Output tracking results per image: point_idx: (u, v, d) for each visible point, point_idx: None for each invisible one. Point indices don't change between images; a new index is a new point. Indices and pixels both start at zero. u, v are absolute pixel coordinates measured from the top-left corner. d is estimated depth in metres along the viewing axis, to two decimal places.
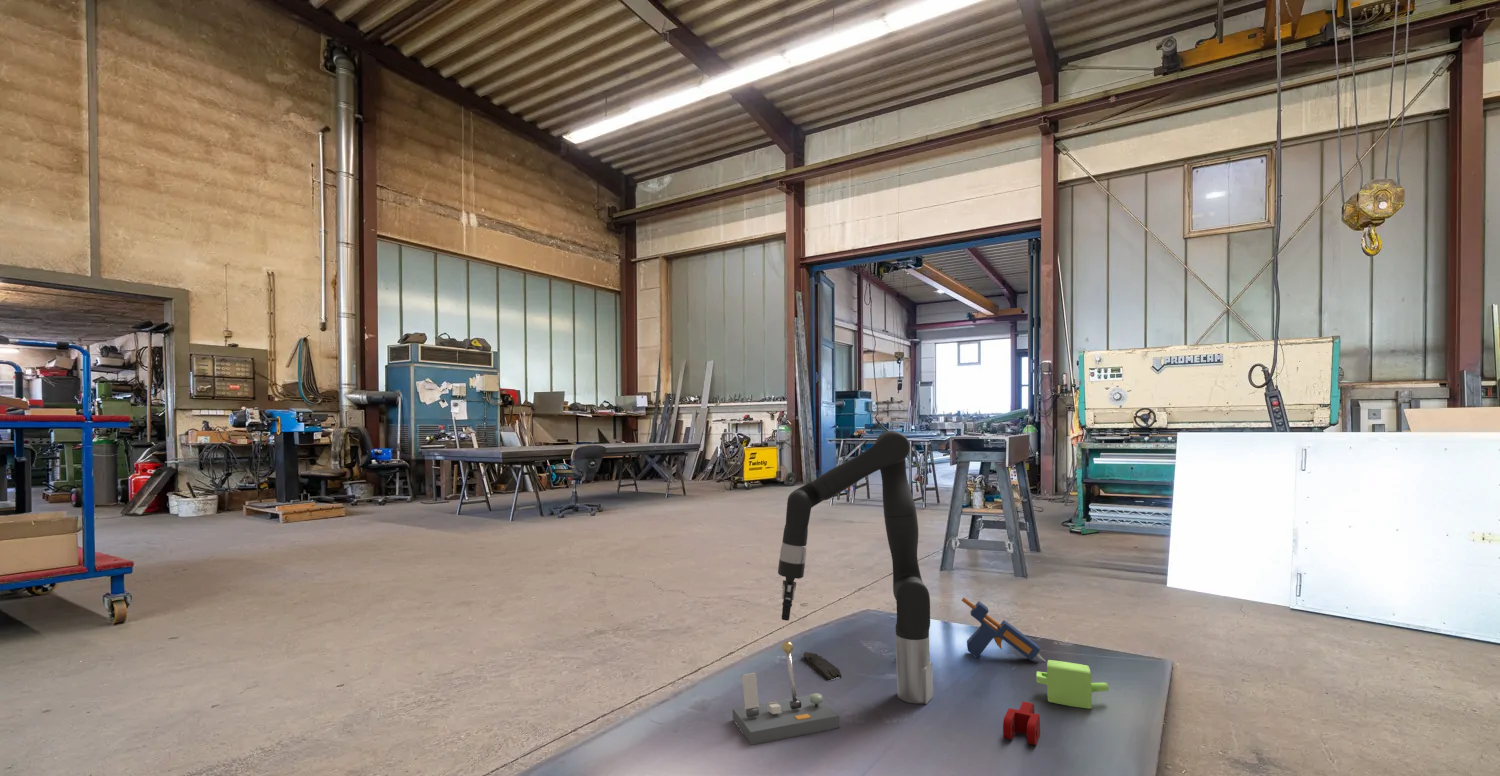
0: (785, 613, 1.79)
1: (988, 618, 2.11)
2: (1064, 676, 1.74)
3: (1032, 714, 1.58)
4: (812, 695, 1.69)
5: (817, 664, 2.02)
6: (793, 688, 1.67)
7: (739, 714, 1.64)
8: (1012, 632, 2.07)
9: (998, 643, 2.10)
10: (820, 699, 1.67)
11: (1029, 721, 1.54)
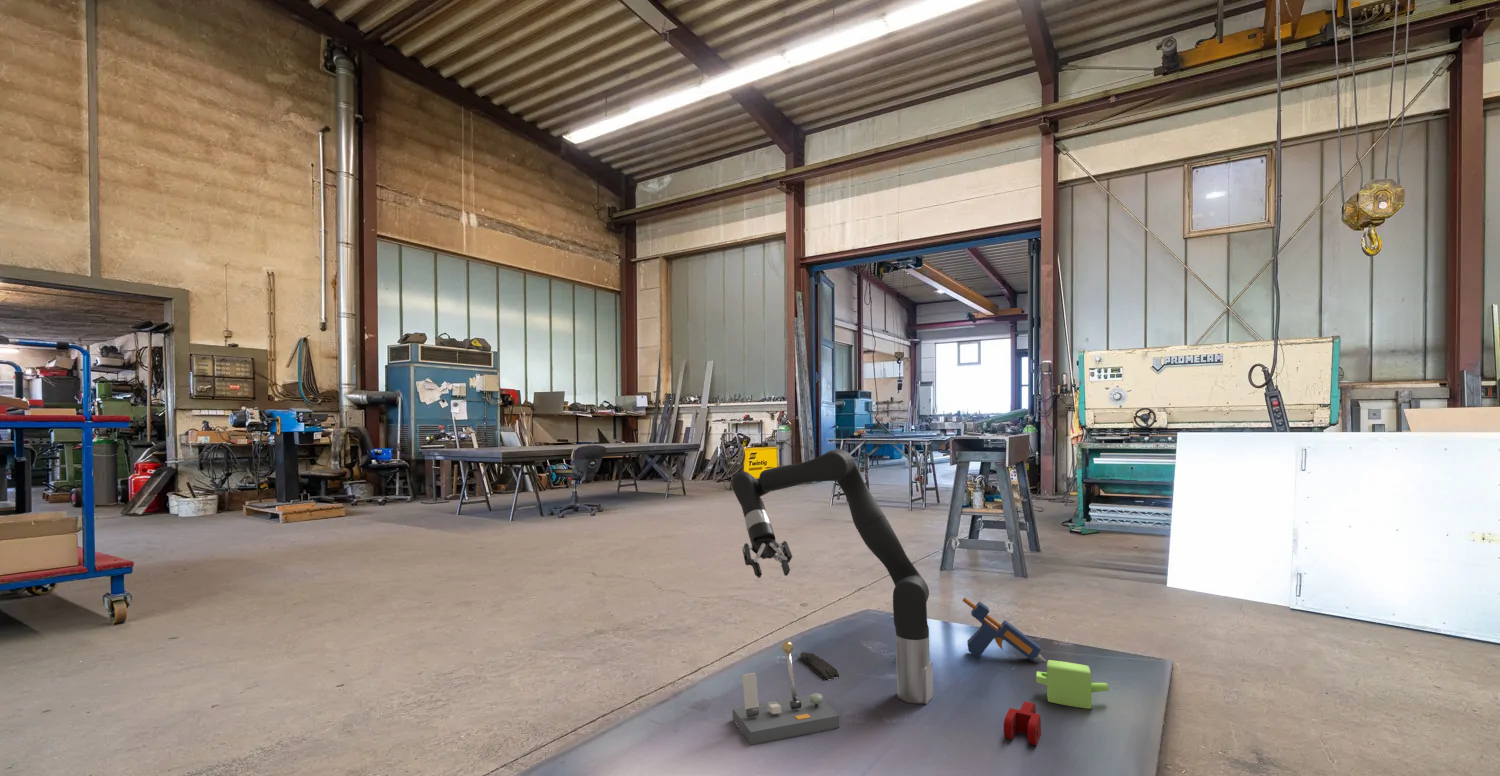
0: (754, 570, 1.83)
1: (989, 618, 2.11)
2: (1064, 676, 1.74)
3: (1033, 714, 1.58)
4: (812, 695, 1.69)
5: (814, 664, 2.02)
6: (793, 688, 1.67)
7: (739, 714, 1.64)
8: (1013, 633, 2.07)
9: (999, 643, 2.09)
10: (820, 699, 1.67)
11: (1030, 721, 1.54)
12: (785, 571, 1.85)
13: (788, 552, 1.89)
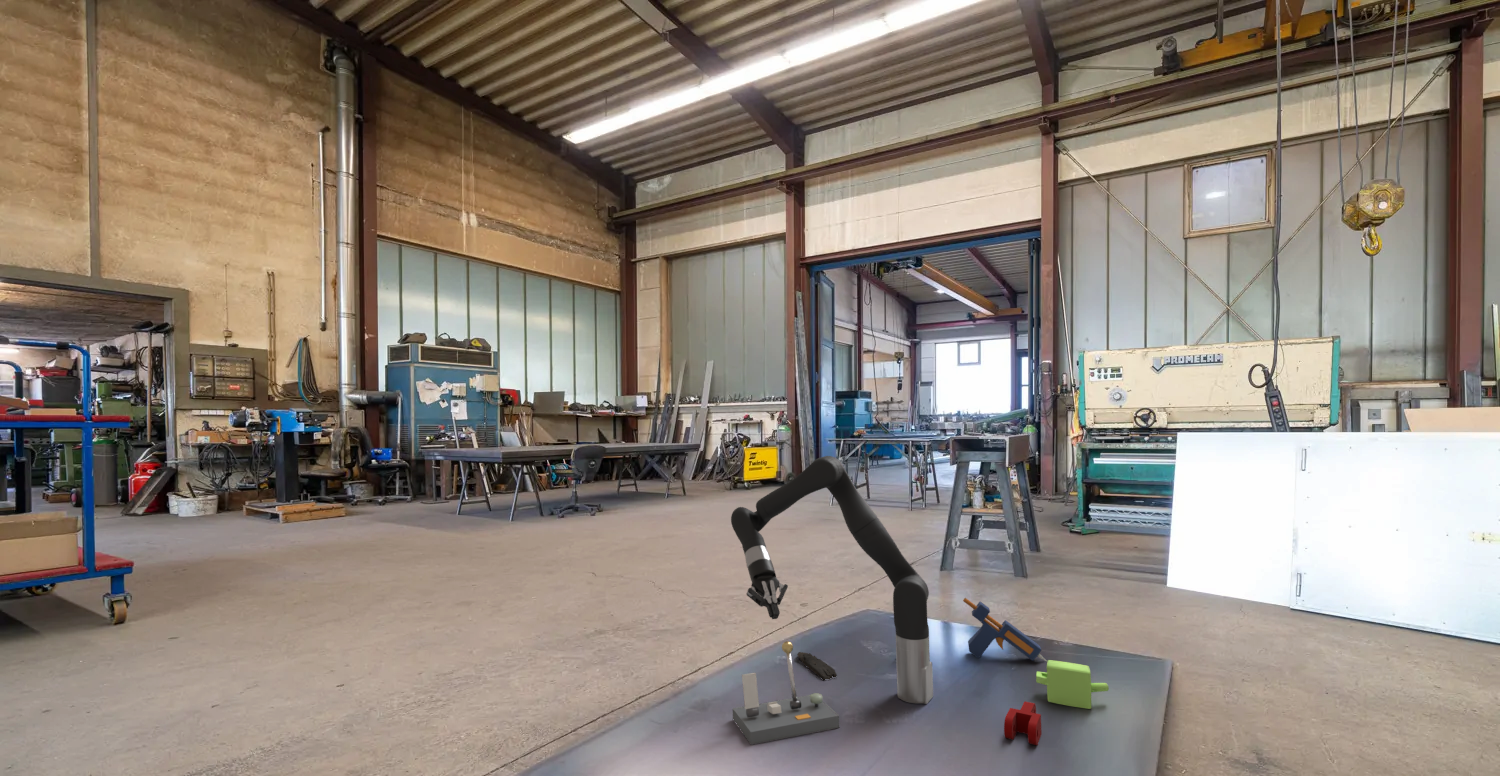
0: (768, 611, 1.81)
1: (989, 618, 2.10)
2: (1064, 676, 1.74)
3: (1033, 714, 1.58)
4: (812, 695, 1.69)
5: (812, 664, 2.02)
6: (793, 688, 1.67)
7: (739, 714, 1.64)
8: (1013, 633, 2.07)
9: (999, 643, 2.09)
10: (820, 699, 1.67)
11: (1030, 721, 1.54)
12: None
13: (781, 594, 1.84)
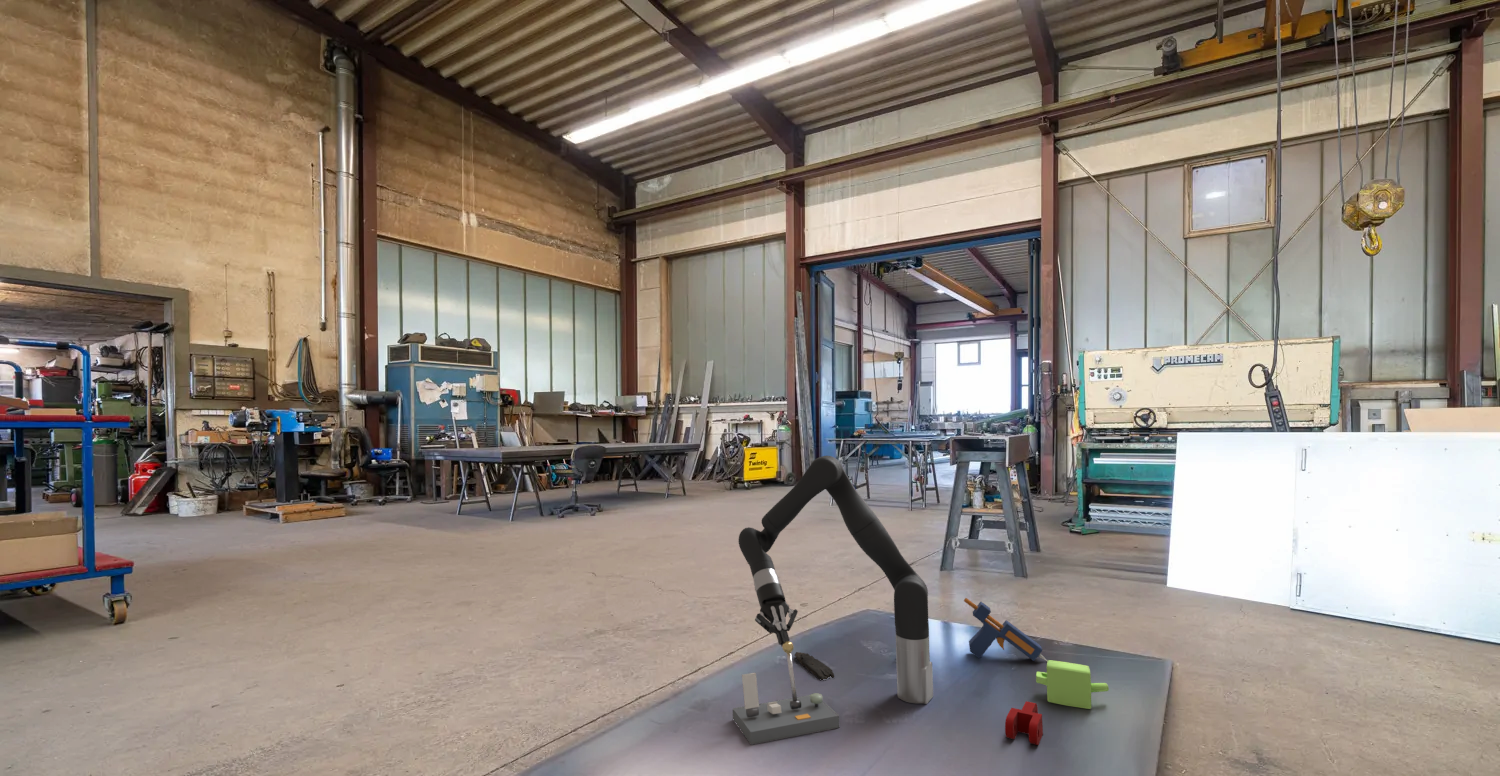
0: (778, 638, 1.74)
1: (990, 618, 2.10)
2: (1064, 676, 1.74)
3: (1034, 714, 1.58)
4: (812, 695, 1.69)
5: (809, 664, 2.02)
6: (794, 688, 1.67)
7: (739, 714, 1.64)
8: (1014, 633, 2.07)
9: (1000, 643, 2.09)
10: (820, 699, 1.67)
11: (1031, 721, 1.54)
12: None
13: (791, 620, 1.78)
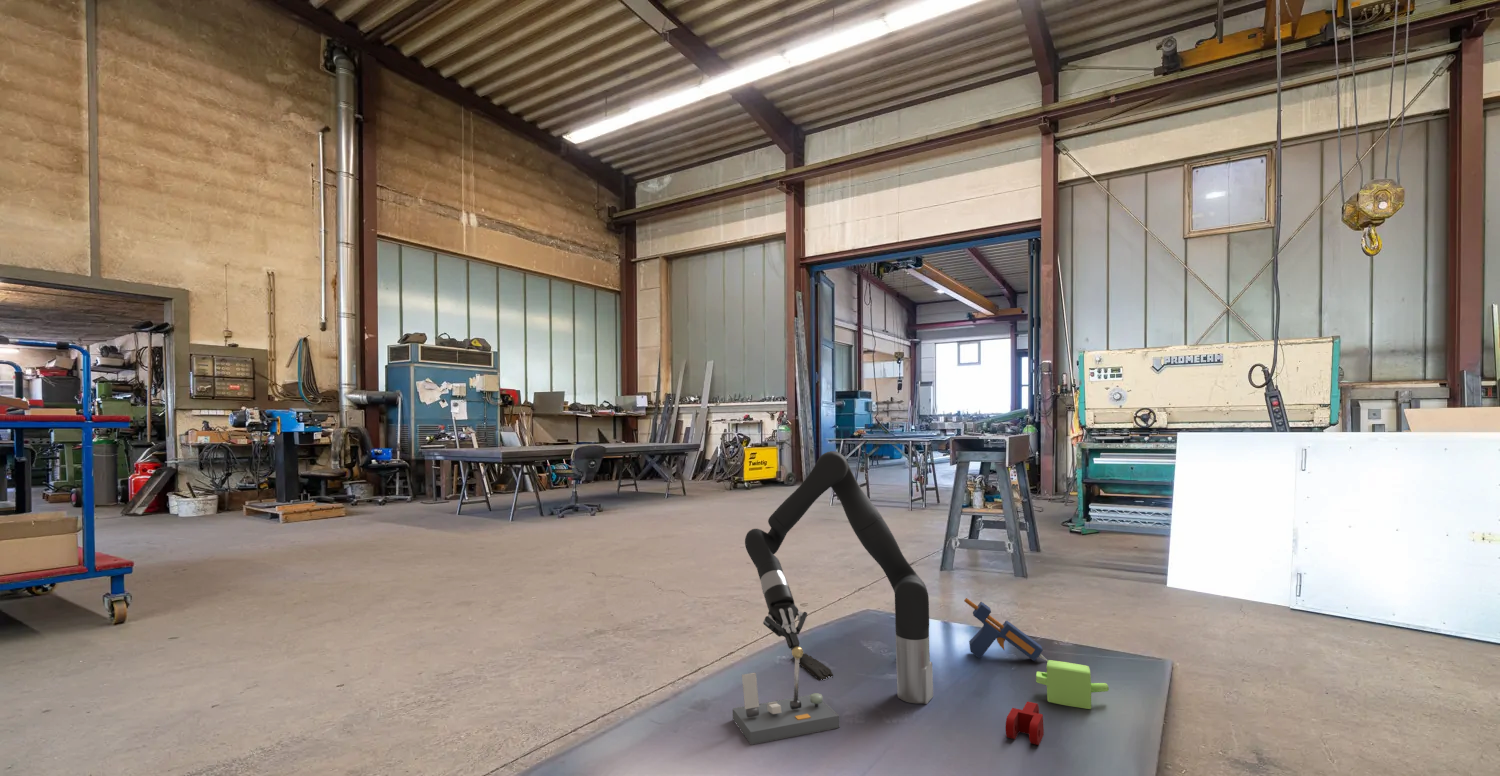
0: (787, 642, 1.68)
1: (991, 618, 2.10)
2: (1064, 676, 1.74)
3: (1035, 714, 1.58)
4: (812, 695, 1.69)
5: (808, 664, 2.02)
6: (796, 691, 1.65)
7: (739, 714, 1.64)
8: (1014, 633, 2.07)
9: (1001, 644, 2.09)
10: (820, 699, 1.67)
11: (1032, 721, 1.54)
12: None
13: (800, 623, 1.72)
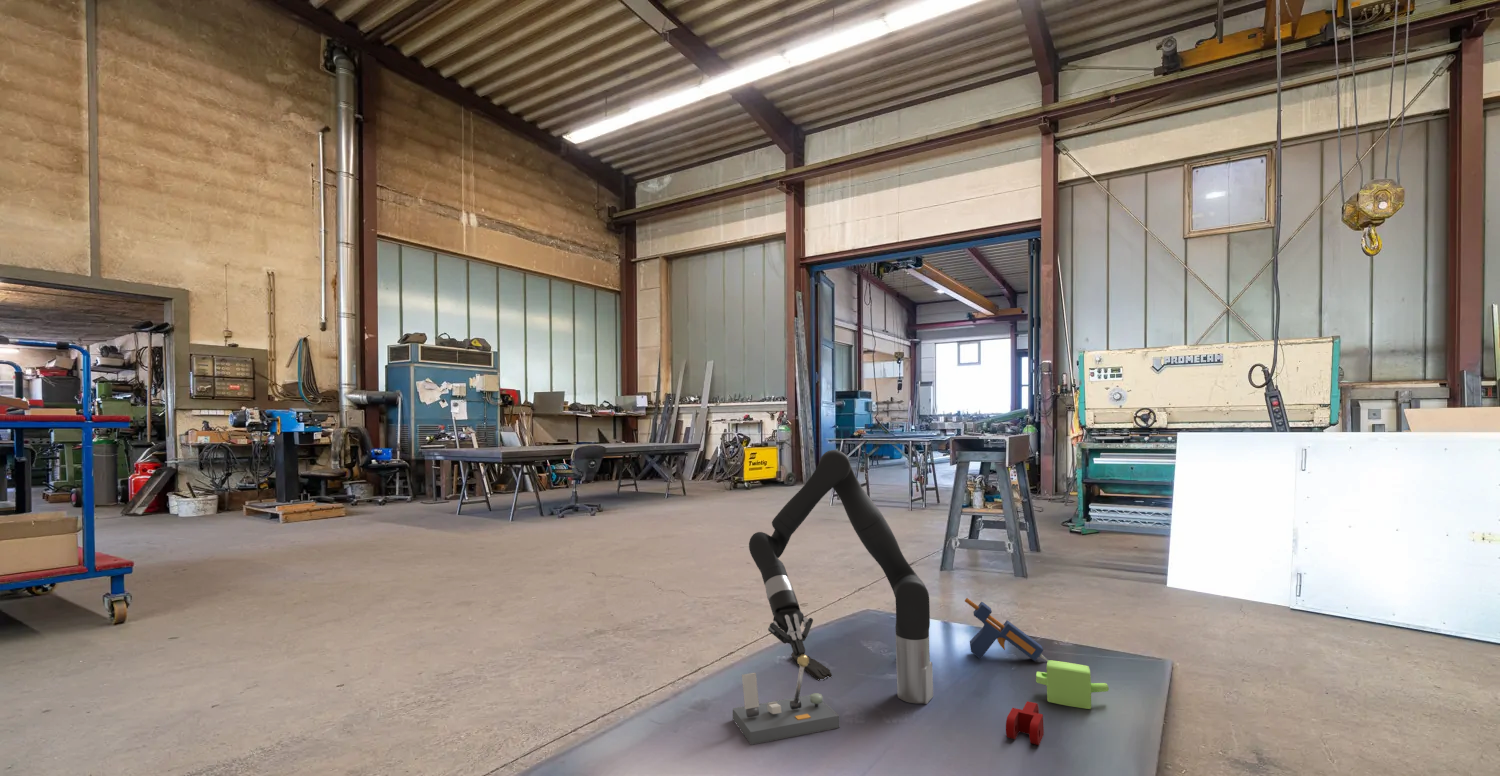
0: (793, 649, 1.64)
1: (991, 618, 2.10)
2: (1064, 676, 1.74)
3: (1035, 714, 1.58)
4: (812, 695, 1.69)
5: None
6: (798, 694, 1.64)
7: (739, 714, 1.64)
8: (1015, 633, 2.07)
9: (1001, 644, 2.09)
10: (820, 699, 1.67)
11: (1032, 721, 1.54)
12: None
13: (806, 629, 1.68)
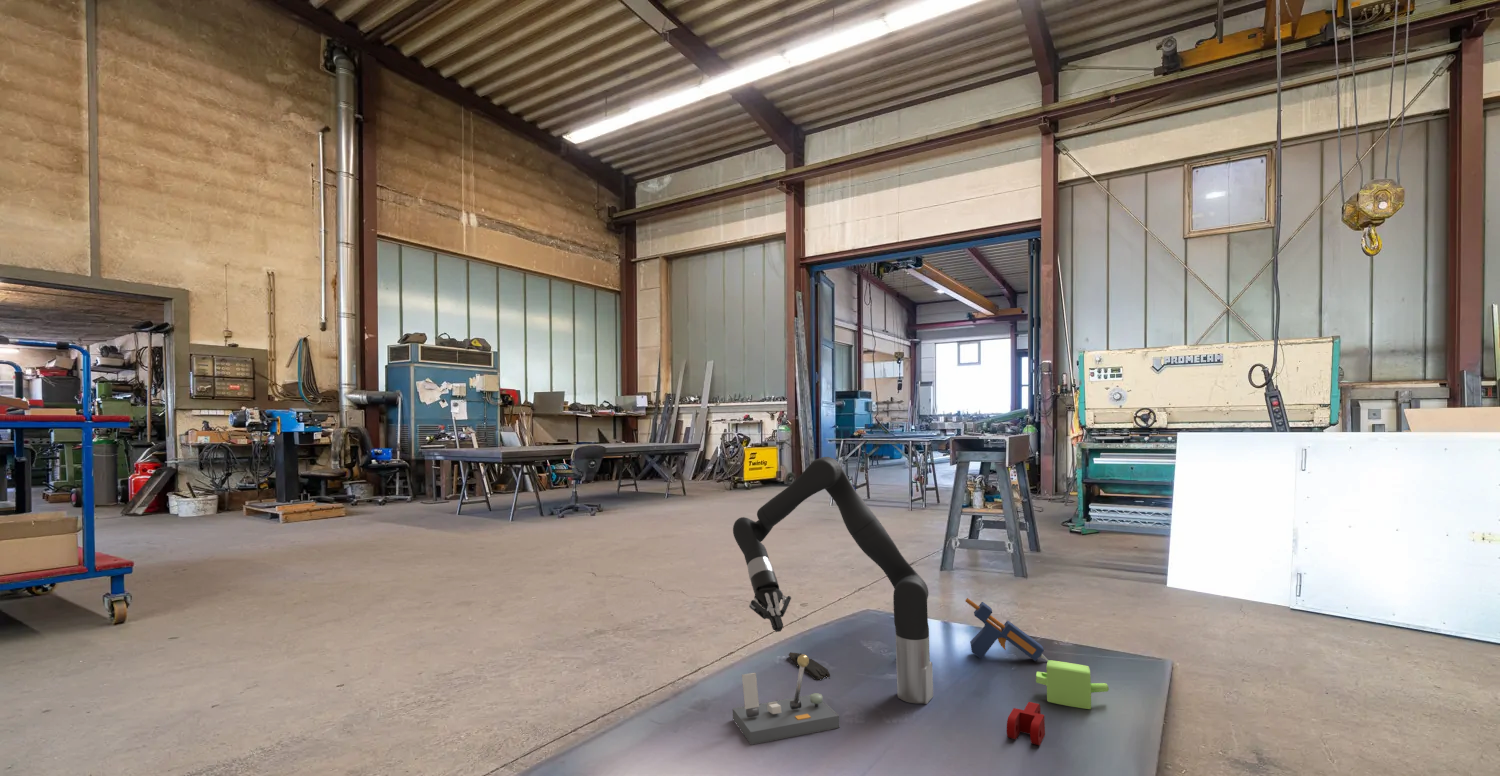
0: (772, 624, 1.78)
1: (992, 619, 2.10)
2: (1064, 676, 1.74)
3: (1037, 714, 1.58)
4: (812, 695, 1.69)
5: None
6: (798, 694, 1.64)
7: (739, 714, 1.64)
8: (1016, 633, 2.06)
9: (1002, 644, 2.09)
10: (820, 699, 1.67)
11: (1033, 721, 1.54)
12: None
13: (784, 606, 1.82)
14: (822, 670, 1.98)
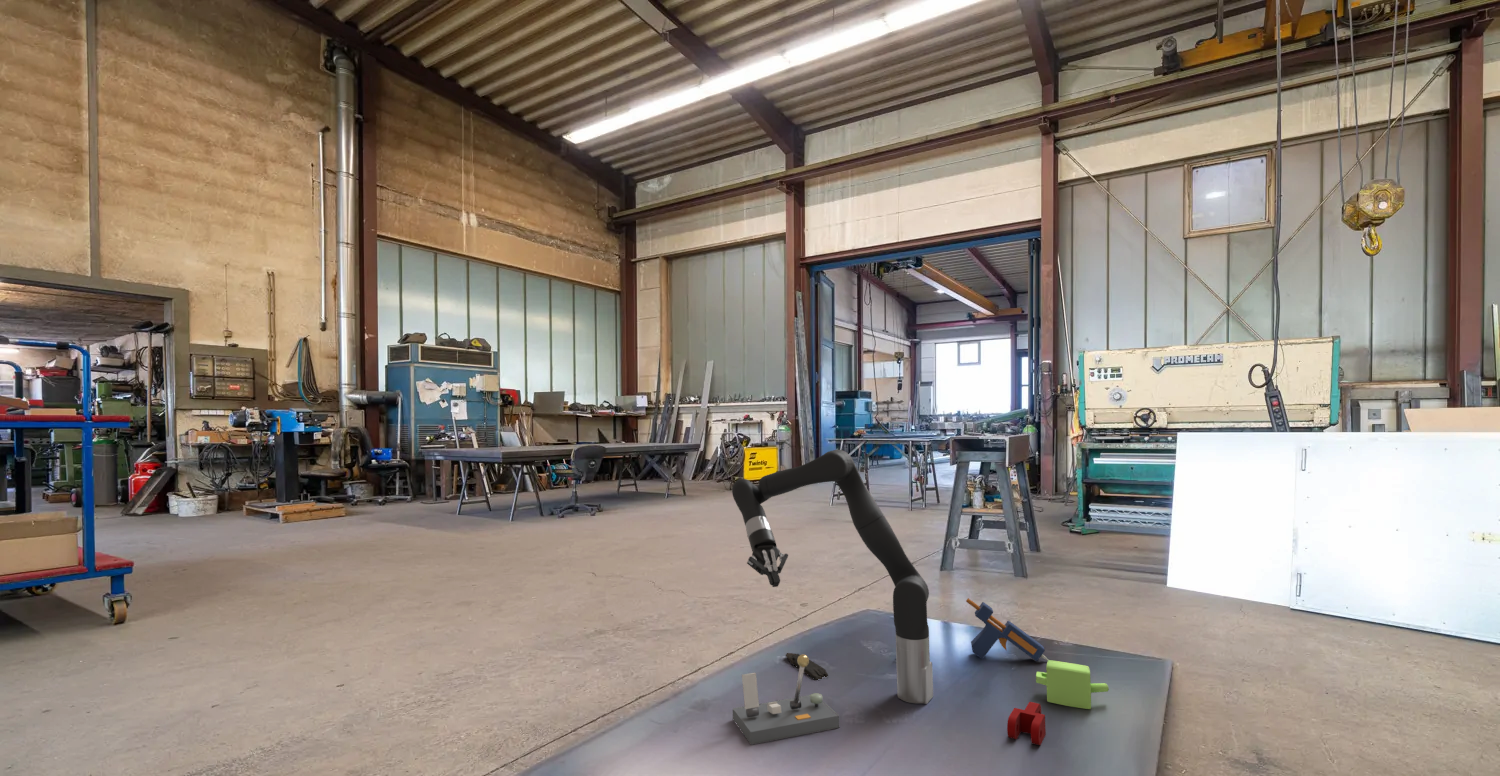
0: (769, 579, 1.82)
1: (993, 619, 2.10)
2: (1063, 676, 1.74)
3: (1037, 714, 1.58)
4: (812, 695, 1.69)
5: None
6: (798, 694, 1.64)
7: (739, 714, 1.64)
8: (1017, 633, 2.06)
9: (1003, 644, 2.09)
10: (820, 699, 1.67)
11: (1034, 721, 1.54)
12: None
13: (781, 563, 1.86)
14: (820, 670, 1.98)
